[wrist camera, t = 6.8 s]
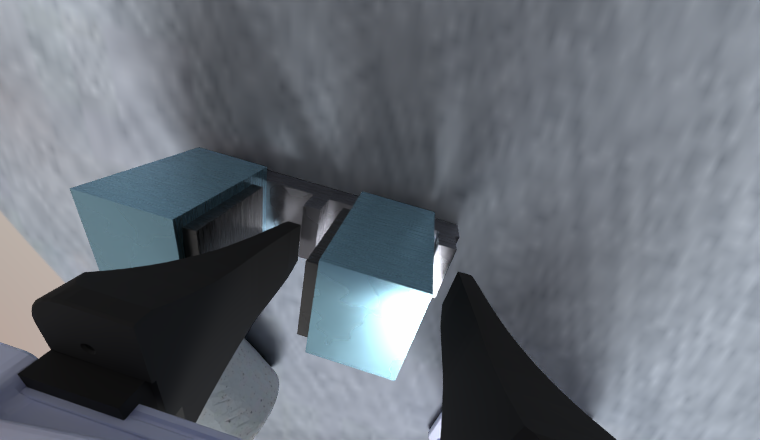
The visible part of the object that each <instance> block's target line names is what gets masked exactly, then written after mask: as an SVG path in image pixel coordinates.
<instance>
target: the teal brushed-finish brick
mask: <svg viewBox="0 0 760 440" xmlns="http://www.w3.org/2000/svg"><path fill="white" fill-rule="evenodd" d="M434 220H435V212H432V211H429V210H425V209H422V208H418V207H415V206H411V205H408V204H405V203H401V202H398V201H394V200H391V199H387V198H384V197H380V196H377V195H373V194H370V193H366V192H363V191H362V193H361V194H360V196H359V197H358V199H357V201H356V202H355V204H354V205H353V207H352V209H351V210H350V209H347V208H342V210H341V211H340V213H339V214H338V216H337V217H336V218H335V220H334V221H333V223H332V224H331V226H330V227H329V229H328V230H327V231H326V233H325V234H324V236H323V237H322V239H321V240H320V242H319V243H318V244H317V246H316V247H315V249H314V250H313V252H312V253H311V255H310V256H309V257H308V259H307V260H306V265H305V273H304V281H303V290H302V298H301V307H300V315H299V324H298V332H297V334H299V335H302V336H305V337H308V338H307V345H306V353H309V354H313V355H316V356H319V357H322V358H325V359H328V360H331V361H334V362H337V363H341V364H344V365H347V366H350V367H353V368H356V369H359V370H362V371H365V372H369V373H372V374H375V375H378V376H381V377H384V378H387V379H390V380H394V381H395V379H396V377H397V375H398V372H399V370H400V368H401V366H402V363H403V361H404V359H405V357H406V354H407V352H408V350H409V348H410V345H411V343H412V341H413V339H414V336H415V334H416V332H417V330H418V327H419V325H420V323H421V321H422V318H423V316H424V314H425V312H426V309H427V307H428V305H429V303H430V300H431V298H432V296H433V266H434Z"/></svg>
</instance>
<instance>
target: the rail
mask: <svg viewBox="0 0 760 440" xmlns="http://www.w3.org/2000/svg"><path fill="white" fill-rule="evenodd" d="M70 191H71V194H72V196H73V199H74V202H75V205H76V207H77V210H78V213H79V216H80V218H81V221H82V224H83V226H84V229H85V232H86V235H87V237H88V240H89V243H90V246H91V248H92V251H93V254H94V257H95V259H96V262H97V265H98V268H99V270H100V271H105V270H115V269H125V268H133V267H140V266H146V265H153V264H159V263H164V262H169V261H174V260H178V259H183V258H187V257H192V256H196V255H200V254H203V253H207V252H210V251H214V250H217V249H220V248H223V247H226V246H229V245H231V244H234V243H237V242H239V241H242V240H245V239H247V238H250V237H252V236H255V235H257V234H259V233H262V232H264V231H266V230H269V229H271V228H273V227H275V226H278V225H280V224H282V223H285V222H287V221H290V222H293V223H297V224H300V225H301V231H300V246H299V256H298V257H301V258H305V259H308V257H309V256H310V255H311V253H312V252H313V250H314V249H315V247H316V246H317V244H318V243H319V242H320V240H321V239H322V237H323V236H324V234H325V233H326V231H327V230H328V229H329V227H330V226H331V224H332V223H333V221H334V220H335V218H336V217H337V216H338V214H339V213H340V211H341V210H342V208H347V209H350V210H351V209H352V207H353V205H354V204H355V202H356V201H357V199H358V197H359V196H355V195H352V194H348V193H345V192H342V191H338V190H335V189H331V188H328V187H324V186H321V185H317V184H314V183H310V182H307V181H304V180H300V179H297V178H293V177H290V176H286V175H283V174H279V173H276V172H272V171H269V170H267V167H266V166H262V165H259V164H256V163H252V162H249V161H245V160H242V159H238V158H235V157H231V156H228V155H224V154H221V153H217V152H214V151H210V150H207V149H204V148H200V147H199V148H195V149H192V150H189V151H186V152H183V153H180V154H177V155H173V156H170V157H167V158H164V159H161V160H158V161H155V162H151V163H148V164H145V165H142V166H139V167H136V168H133V169H130V170H126V171H123V172H120V173H117V174H114V175H111V176H108V177H104V178H101V179H98V180H95V181H92V182H89V183H86V184H82V185H79V186H76V187H73V188H70ZM458 239H459V232H458V225H456V224H452V223H449V222H445V221H442V220H438V219H435V220H434V266H433V296H432V297H433V298H435V296H436V294H437V292H438V290H439V288H440V285H441V283H442V281H443V279H444V277H445V274H446V272H447V270H448V268H449V265H450V263H451V261H452V259H453V257H454V254H455V252H456V243H457V241H458Z"/></svg>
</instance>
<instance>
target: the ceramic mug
mask: <svg viewBox="0 0 760 440" xmlns="http://www.w3.org/2000/svg"><path fill="white" fill-rule="evenodd" d="M278 390H279V379H278V376H277V374H276V372H275V371H274V370H273V369H272V368H271V367H270V366H269V364H268V363H267V362H266V361H265V360H264V359H263V358H262V357H261V355H260V354H259V353H258V352H257V351H256V350H255V349H254V348H253V347H252V346H251V345H250V344H249V343H248V341H247V340H246V339H245V338H244V339H243V340H242V342H241V344H240V345H239V347H238V348H237V350H236V352H235V354H234V355H233V357H232V359H231V360H230V362H229V364H228V365H227V367H226V369H225V371H224V372H223V374H222V376H221V378H220V379H219V381H218V383H217V385H216V387H215V388H214V390H213V392H212V394H211V395H210V397H209V399H208V401H207V403H206V405H205V407H204V409H203V410H202V412H201V414H200V416H199V418H198V420H197V422H196V423H197V424H200V425H203V426H206V427H209V428H212V429H215V430H217V431H220V432H223V433H226V434H229V435H232V436H235V437H238V438H241V439H244V440H253V439H254V437H255V436H256V435H257V433H258V432H259V430H260V429H261V427H262V426H263V424H264V423H265V421H266V420H267V418H268V416H269V415H270V413H271V411H272V409H273V406H274V404H275V401H276V398H277V395H278Z"/></svg>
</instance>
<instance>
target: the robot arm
mask: <svg viewBox="0 0 760 440" xmlns="http://www.w3.org/2000/svg"><path fill="white" fill-rule="evenodd" d="M300 231H301V225H300V224H297V223H293V222H290V221H287V222H285V223H282V224H280V225H278V226H275V227H273V228H271V229H269V230H266V231H264V232H262V233H259V234H257V235H255V236H252V237H250V238H247V239H245V240H242V241H239V242H237V243H234V244H231V245H229V246H226V247H223V248H220V249H217V250H214V251H210V252H207V253H203V254H200V255H196V256H192V257H187V258H183V259H178V260H174V261H169V262H164V263H159V264H153V265H146V266H140V267H133V268H125V269H115V270H105V271H95V272H84V273H82V274H81V275H79V276H77V277H75V278H74V279H72V280H70V281H68V282H67V283H65V284H63V285H62V286H60V287H58V288H56V289H55V290H53V291H51V292H49V293H48V294H46V295H44V296H42V297H41V298H39V299H37V300H36V301H35V302H34V304H33V305H32V317H33V319H34V321H35V323H36V325H37V326H38V328H39V330H40V332H41V333H42V335H43V337H44V338H45V340H46V342H47V344H48V345H49V347H50V349H51V350H50V351H49V352H47V353H46V354H45V355H43V356H42V357H40V358H39V359H38V358H37V357H35V356H34V355H33V354H31V353H29V352H27V351H24V350H21V349H19V348H15V347H13V346H10V345H7V344H4V343H1V342H0V440H244V439H241V438H238V437H235V436H232V435H229V434H226V433H223V432H220V431H217V430H215V429H212V428H209V427H206V426H203V425H200V424H197V423H196V422H197V420H198V418H199V416H200V414H201V412H202V410H203V409H204V407H205V405H206V403H207V401H208V399H209V397H210V395H211V394H212V392H213V390H214V388H215V387H216V385H217V383H218V381H219V379H220V378H221V376H222V374H223V372H224V371H225V369H226V367H227V365H228V364H229V362H230V360H231V359H232V357H233V355H234V354H235V352H236V350H237V348H238V347H239V345H240V344H241V342H242V340H243V339H244V337H245V335H246V334H247V332H248V331H249V329H250V327H251V326H252V324H253V323H254V322H255V320H256V319H257V317H258V316H259V315H260V313H261V312H262V311H263V310H264V308H265V307H266V306H267V304H268V303H269V302H270V300H271V299H272V298H273V297H274V295H275V294H276V293H277V291H278V290H279V289H280V287H281V286H282V285H283V284H284V282H285V281H286V279H287V278H288V276H289V275H290V273H291V271H292V270H293V268H294V266H295V264H296V262H297V261H298V251H299V241H300ZM441 346H442V365H443V402H442V412H441V413H440V415H439V417H438V418H437V420H436V421H435V423H434V424H433V426H432V427H431V429H430V430H429V432H428V437H429V439H430V440H616V439H615V438H614V437H613V436H611V435H610V434H609V433H608V432H607V431H606V430H604V429H603V428H602V427H601V426H600V425H598V424H597V423H596V422H595V421H594V420H592V419H591V418H590V417H589V416H588V415H586V414H585V413H584V412H583V411H582V410H581V409H580V408H579V407H578V406H576V405H575V404H574V403H573V402H572V401H571V400H570V399H569V398H568V397H567V396H566V395H565V394H564V393H562V392H561V391H560V390H559V389H558V388H557V387H556V386H555V385H554V384H553V383H552V382H551V381H550V380H549V379H548V377H547V376H546V375H545V374H544V373H543V372H542V371H541V370H540V369H539V368H538V367H537V366H536V365H535V364H534V363H533V361H532V360H531V359H530V358H529V357H528V356H527V355H526V353H525V352H524V351H523V350H522V349H521V347H520V346H519V345H518V344H517V343H516V341H515V340H514V339H513V337H512V336H511V335H510V333H509V332H508V331H507V329H506V328H505V327H504V325H503V324H502V322H501V321H500V319H499V318H498V317H497V315H496V314H495V312H494V311H493V309H492V307H491V306H490V304H489V303H488V301H487V299H486V298H485V296H484V295H483V293H482V291H481V290H480V288H479V286H478V285H477V283H476V281H475V280H474V278H473V277H472V276H471V275H468V274H465V273H461V272H458V273H457V275H456V277H455V279H454V281H453V283H452V285H451V287H450V289H449V292H448V294H447V296H446V298H445V300H444V302H443V304H442V314H441Z"/></svg>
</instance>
